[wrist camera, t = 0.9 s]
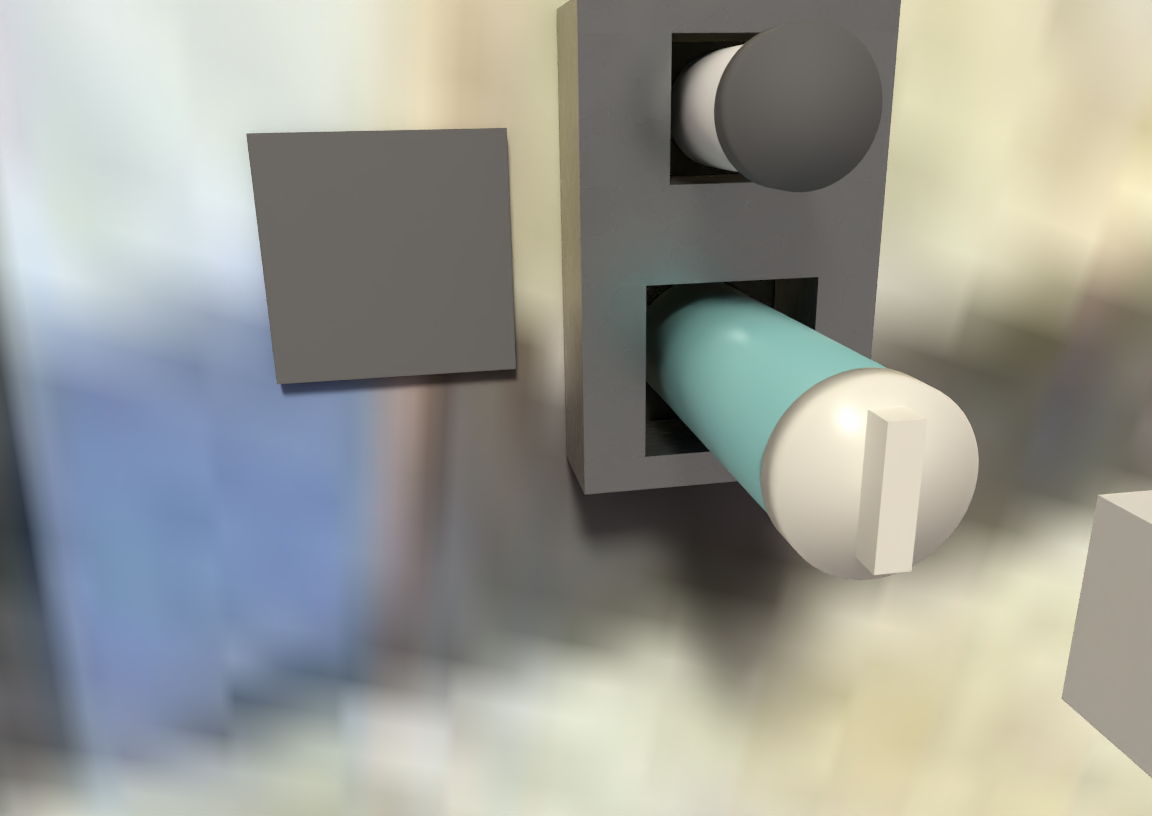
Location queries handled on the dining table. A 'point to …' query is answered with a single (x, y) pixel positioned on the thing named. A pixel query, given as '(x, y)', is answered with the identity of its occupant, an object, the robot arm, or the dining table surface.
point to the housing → (689, 221)
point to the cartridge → (814, 430)
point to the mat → (385, 252)
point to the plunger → (781, 106)
